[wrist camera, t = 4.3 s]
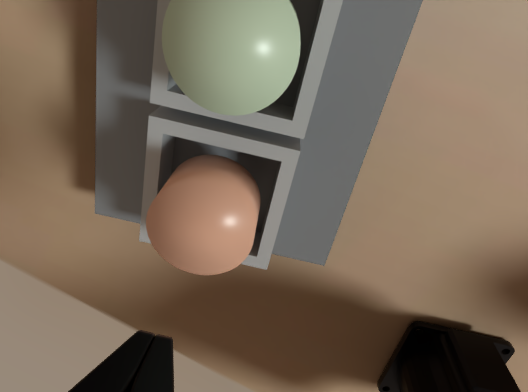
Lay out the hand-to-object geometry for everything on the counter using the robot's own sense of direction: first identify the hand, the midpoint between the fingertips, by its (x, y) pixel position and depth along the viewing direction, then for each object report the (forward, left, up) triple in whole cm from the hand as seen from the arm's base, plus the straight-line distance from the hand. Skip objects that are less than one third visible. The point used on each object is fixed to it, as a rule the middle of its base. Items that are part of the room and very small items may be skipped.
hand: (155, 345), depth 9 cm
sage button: (+6, 0, -8) cm, 10 cm away
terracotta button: (0, 0, -8) cm, 8 cm away
